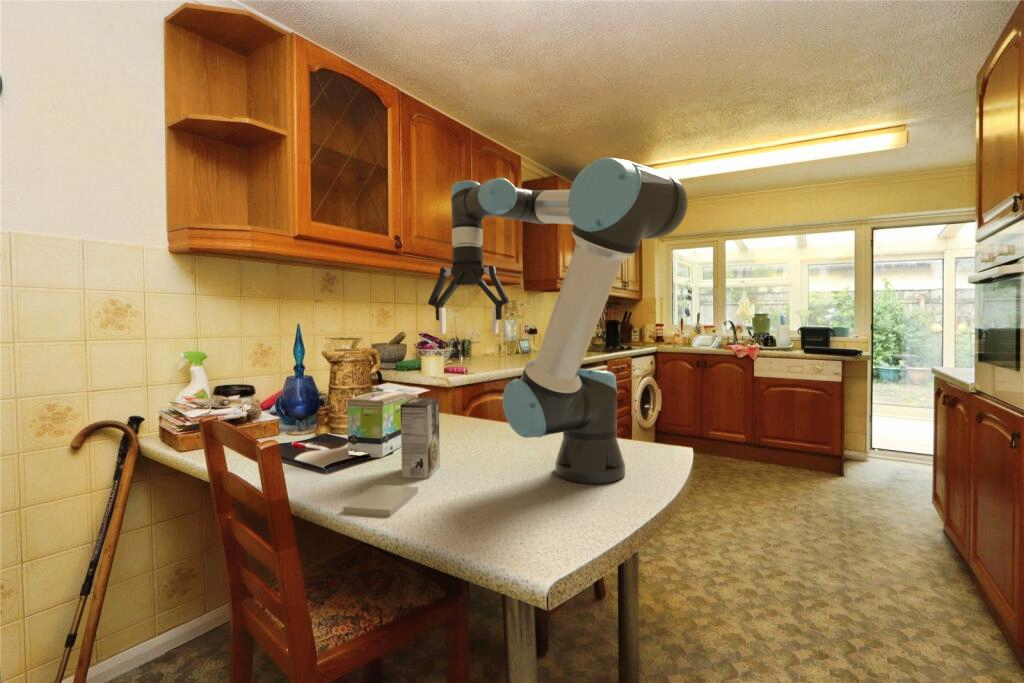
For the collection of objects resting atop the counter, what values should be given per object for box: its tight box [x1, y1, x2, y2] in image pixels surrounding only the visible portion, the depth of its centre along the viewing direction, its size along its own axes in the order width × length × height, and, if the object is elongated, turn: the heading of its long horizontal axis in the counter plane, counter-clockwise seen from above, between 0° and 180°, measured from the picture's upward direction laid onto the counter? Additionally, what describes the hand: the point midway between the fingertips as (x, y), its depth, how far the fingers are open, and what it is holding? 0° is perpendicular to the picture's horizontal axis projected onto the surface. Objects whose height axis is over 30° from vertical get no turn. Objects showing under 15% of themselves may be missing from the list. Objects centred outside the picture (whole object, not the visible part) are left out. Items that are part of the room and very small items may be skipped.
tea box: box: [347, 391, 408, 459], centre depth 129 cm, size 15×10×15 cm
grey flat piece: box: [342, 484, 419, 517], centre depth 91 cm, size 9×2×12 cm
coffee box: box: [400, 397, 441, 479], centre depth 109 cm, size 9×6×16 cm
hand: (468, 333), depth 120 cm, fingers open, 13 cm apart
